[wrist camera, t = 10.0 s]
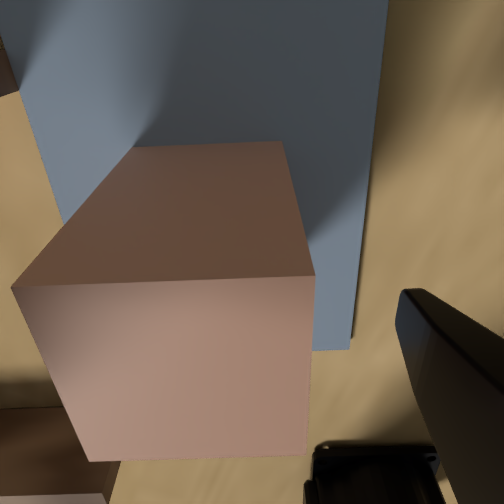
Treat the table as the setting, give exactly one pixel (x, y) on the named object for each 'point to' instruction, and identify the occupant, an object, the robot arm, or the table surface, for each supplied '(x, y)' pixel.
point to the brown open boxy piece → (46, 438)
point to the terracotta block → (180, 307)
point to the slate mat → (213, 103)
